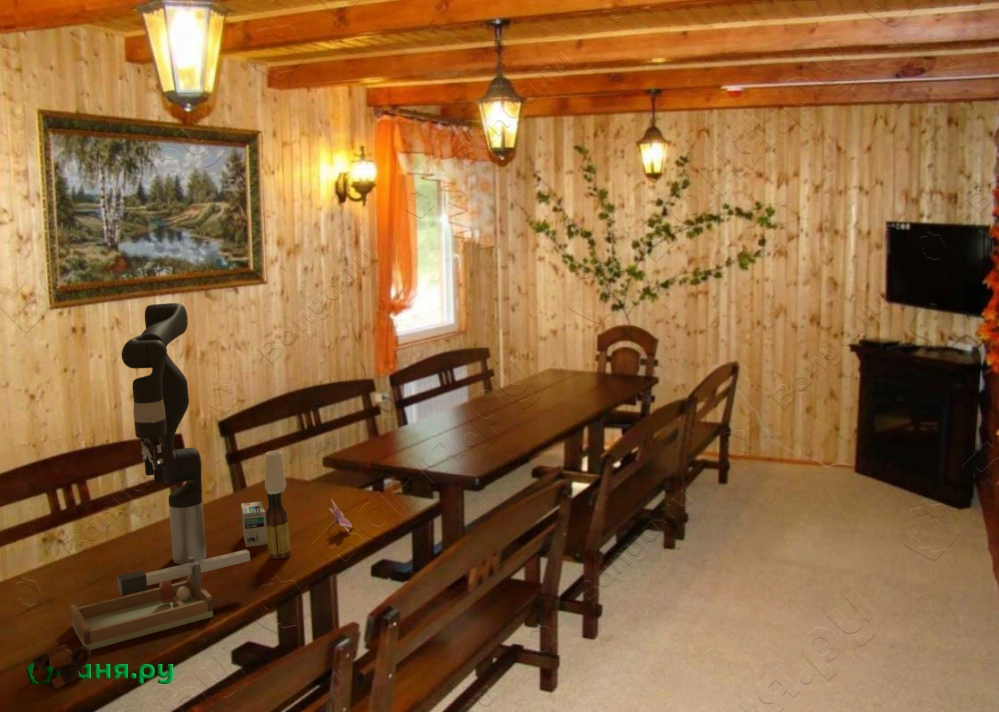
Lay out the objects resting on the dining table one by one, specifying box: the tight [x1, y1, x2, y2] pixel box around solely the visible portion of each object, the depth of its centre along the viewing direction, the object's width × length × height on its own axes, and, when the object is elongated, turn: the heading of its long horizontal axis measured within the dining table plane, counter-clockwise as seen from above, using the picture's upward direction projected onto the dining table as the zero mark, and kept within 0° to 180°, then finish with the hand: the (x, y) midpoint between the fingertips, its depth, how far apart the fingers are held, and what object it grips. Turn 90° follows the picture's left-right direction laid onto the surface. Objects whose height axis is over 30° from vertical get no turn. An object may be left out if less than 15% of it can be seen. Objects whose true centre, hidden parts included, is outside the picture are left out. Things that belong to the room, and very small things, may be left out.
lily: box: [327, 498, 353, 533], centre depth 290 cm, size 12×12×10 cm
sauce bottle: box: [266, 490, 291, 560], centre depth 270 cm, size 7×6×20 cm
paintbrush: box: [116, 549, 251, 604], centre depth 239 cm, size 4×33×9 cm, turn 125°
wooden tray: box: [69, 556, 214, 651], centre depth 230 cm, size 16×30×12 cm, turn 125°
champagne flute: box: [264, 450, 287, 494], centre depth 296 cm, size 7×7×24 cm
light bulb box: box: [240, 501, 268, 548], centre depth 284 cm, size 11×7×11 cm, turn 20°
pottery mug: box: [31, 644, 93, 690], centre depth 204 cm, size 12×10×8 cm
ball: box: [176, 586, 191, 601], centre depth 239 cm, size 4×4×4 cm
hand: (154, 478), depth 238 cm, fingers open, 8 cm apart
